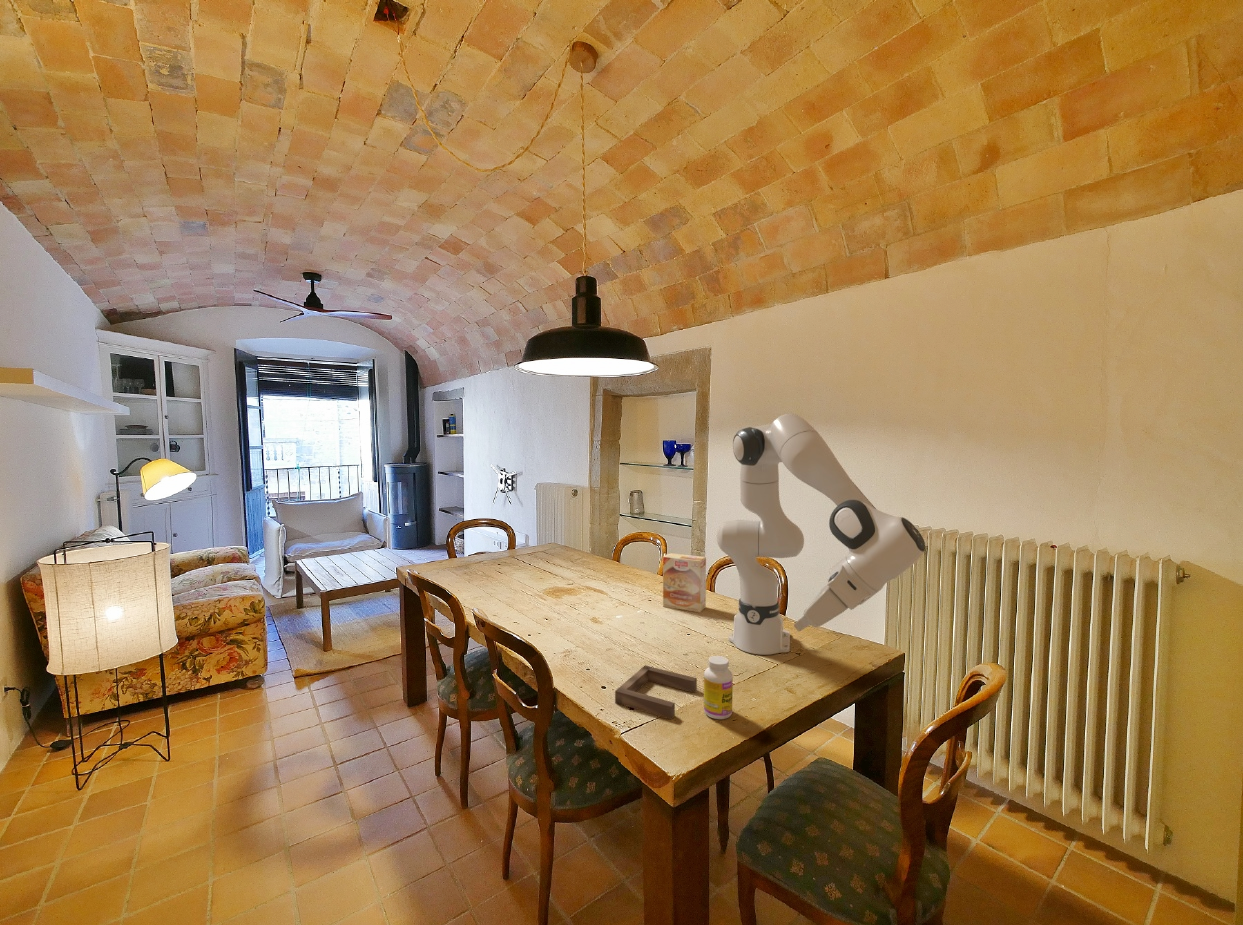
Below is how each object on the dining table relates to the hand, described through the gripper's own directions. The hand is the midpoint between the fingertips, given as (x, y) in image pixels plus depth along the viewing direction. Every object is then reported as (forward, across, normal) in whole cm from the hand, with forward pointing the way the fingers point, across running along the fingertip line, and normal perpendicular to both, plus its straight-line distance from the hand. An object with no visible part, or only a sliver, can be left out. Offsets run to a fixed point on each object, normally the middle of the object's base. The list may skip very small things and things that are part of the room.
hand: (801, 620), depth 111 cm
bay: (+42, 0, -6) cm, 42 cm away
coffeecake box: (+57, -64, -23) cm, 89 cm away
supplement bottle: (+32, 0, +5) cm, 32 cm away
